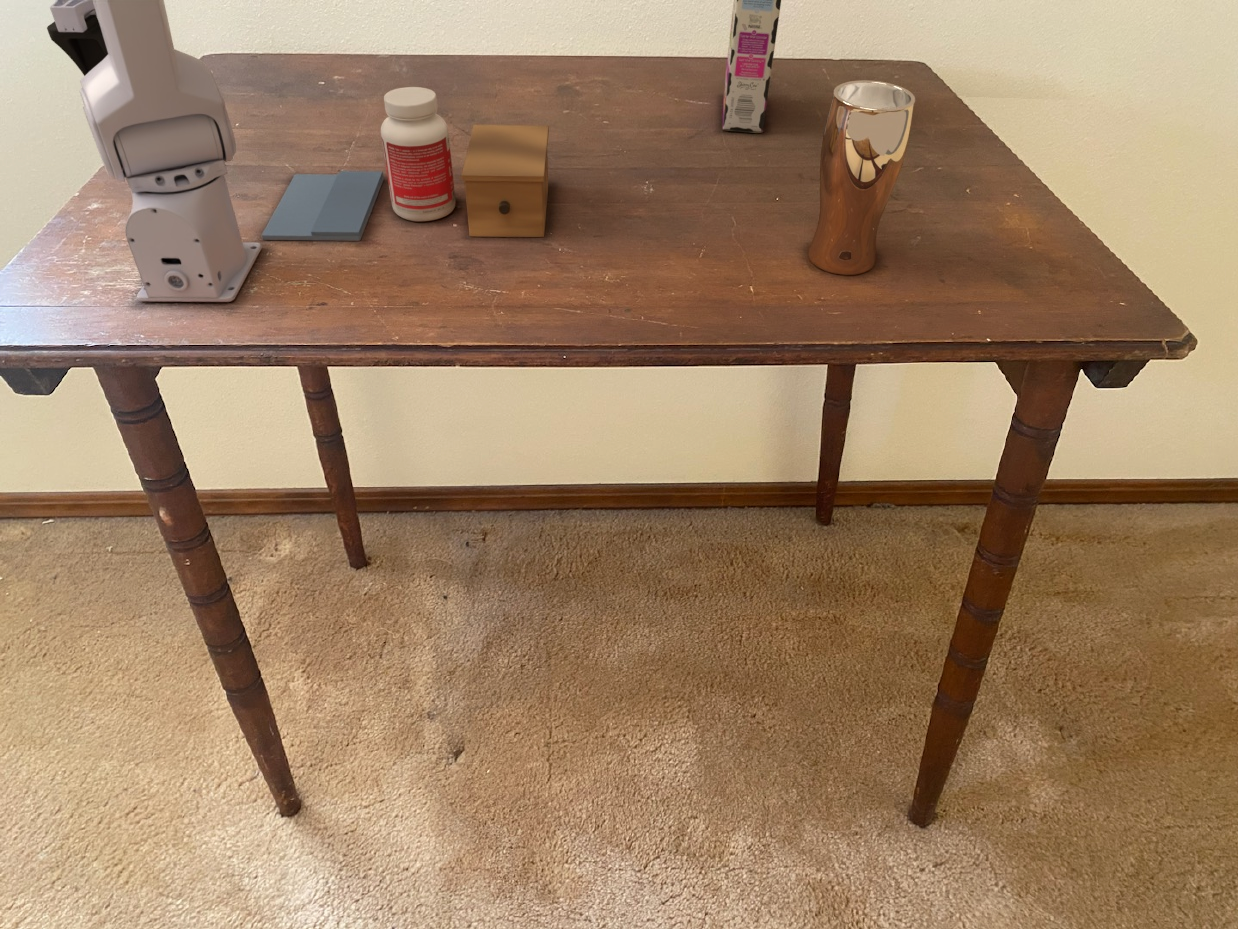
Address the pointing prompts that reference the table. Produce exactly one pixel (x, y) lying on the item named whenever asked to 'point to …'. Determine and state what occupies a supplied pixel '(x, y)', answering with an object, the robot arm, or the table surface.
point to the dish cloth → (325, 207)
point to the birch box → (506, 180)
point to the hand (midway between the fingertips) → (133, 90)
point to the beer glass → (859, 171)
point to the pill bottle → (417, 155)
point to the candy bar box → (749, 64)
